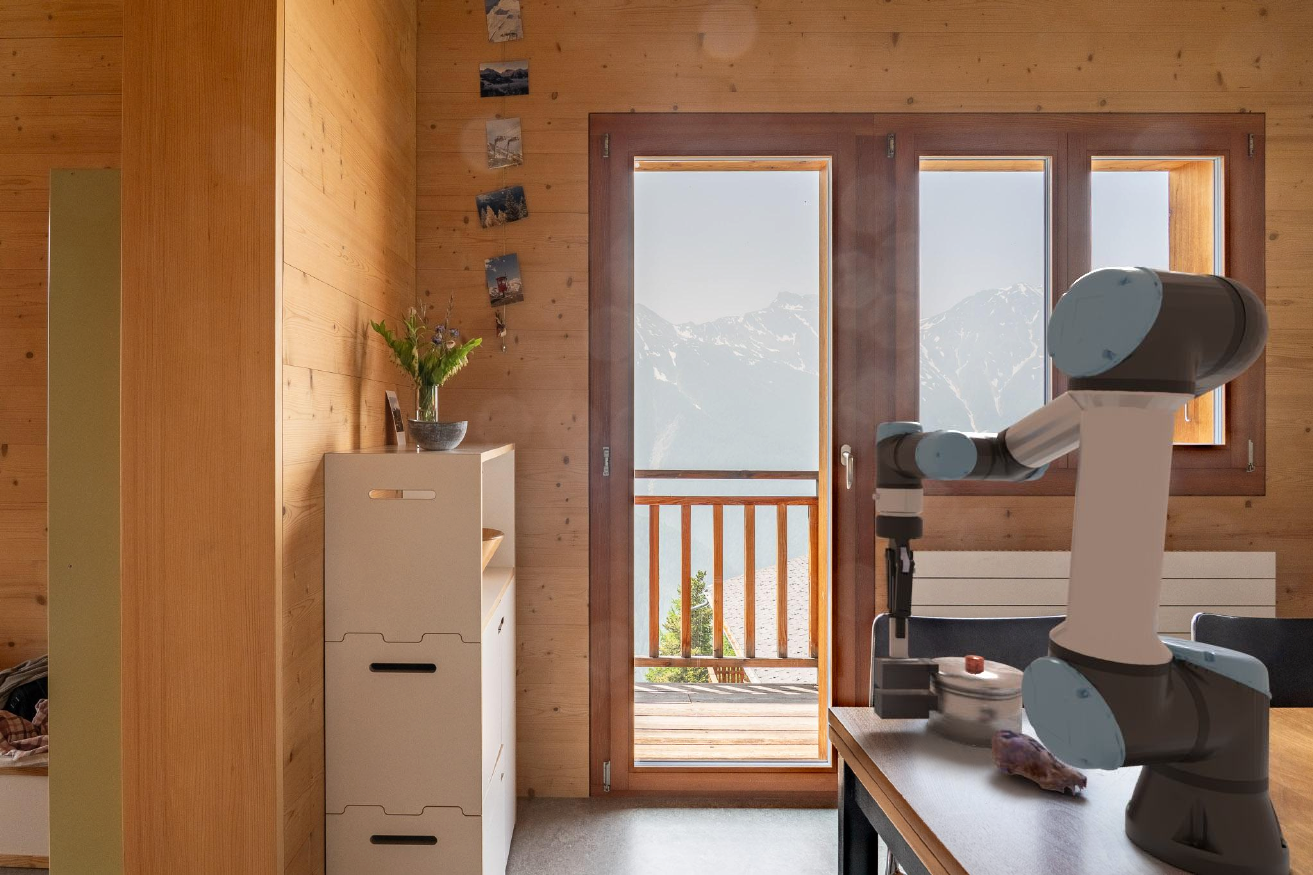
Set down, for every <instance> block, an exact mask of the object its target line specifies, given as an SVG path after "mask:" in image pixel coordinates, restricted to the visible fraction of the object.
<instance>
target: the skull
mask: <svg viewBox="0 0 1313 875" xmlns="http://www.w3.org/2000/svg"><path fill="white" fill-rule="evenodd" d="M991 749H992V750H991V753H990V759H991V760H992V761H993V763H994V764H995V766H996V768H997V769H998V770H999V771H1001V773H1004V774H1005V775H1022V776H1023V777H1025V778H1028V779H1030V780H1032V781H1033V782H1034V783H1037V784H1038V786H1040V787H1041V789H1046V790H1049V791H1058V792H1061V793H1062V794H1064V793H1065V788H1066V787H1068V788H1070V789H1071V792H1072V794H1073V796H1075V793H1076V786H1077V788H1078V789H1079V792H1080V793H1081V792H1082V790H1085V789H1087V783H1088V777H1087V776H1086V775H1084V774H1083V773H1081V772H1079V771H1077V770H1075V769H1073V768H1071V767H1068V766H1067V765H1065V764H1063V763H1062V762H1060V760H1059V759H1058V758H1056V757H1055V756H1054V755H1053V754H1052V753H1051V752H1050V751H1049V750H1048V749H1047V748H1046V747H1045V746H1044V745H1043V744H1042V743H1041V742H1039V741H1038V740H1037V739H1035V738H1033V737H1032V736H1030V735H1027V734H1025V733H1022V734H1021V733H1017V732H1014V731H1012V730H1009V729H1001V730H998V731H997V732H996V734H995V735H994V737H993V739H992V748H991Z"/></svg>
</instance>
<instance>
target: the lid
mask: <svg viewBox="0 0 1313 875" xmlns="http://www.w3.org/2000/svg"><path fill="white" fill-rule="evenodd" d="M873 670H874V671H873V673H874V674H873V675H874V677H873V680H874V681H873V682H874V684H875V685H877V687H878V688H879V689H882V690H930V680H931V681H933V682H935V683H937V684H940V685H943V686H946V687H949V688H953V689H957V690H962V691H967V692H973V693H982V694H1014V693H1019V692H1022V691H1021V685H1022V677H1023V674H1024V671H1022V670H1020V669H1018V668H1015V667H1013V666H1011V665H1007V664H1004V663H1000V662H996V661H992V660H987V659H985V658H984V657H983V656H980V655H972V654H968V655H965V656H964V657H960V656H959V657H958V656H956V657H955V656H948V657H947V656H946V657H935V658H932V659H931V658H929V657H924V658H923V657H908V658H895V657H874V669H873Z"/></svg>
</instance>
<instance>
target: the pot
mask: <svg viewBox="0 0 1313 875" xmlns="http://www.w3.org/2000/svg"><path fill="white" fill-rule="evenodd" d="M873 695H874V696H873V698H874V700H873V702H874V703H873V704H874V705H873V709H874V710H873V713H875V715H877V717H879V718H880V719H881V720H927V727H928V729H929V730H930V729H931V731H932V732H933V733H934V734H935V735H937V736H939V737H942V738H944V739H945V740H949V741H951V740H952V742H955V743H958V744H961V745H962V744H963V745H966V744H967V745H966V746H971V745H974V746H973V747H977V746H979V748H987V747H992V739H993V737H994V735H995V734H996V732H997V731H998V730H1001V729H1009V730H1012V731H1014V732H1017V733H1021V734H1023V700H1022V692H1019V693H1014V694H982V693H973V692H967V691H962V690H957V689H953V688H949V687H946V686H943V685H940V684H937V683H935V682H933V681H931V680H930V690H882V689H881V688H874V694H873Z"/></svg>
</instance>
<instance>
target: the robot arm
mask: <svg viewBox="0 0 1313 875" xmlns="http://www.w3.org/2000/svg"><path fill="white" fill-rule="evenodd" d="M1053 308H1054V309H1053V311H1052V313H1051V315H1050V318H1049V322H1048V325H1047V329H1046V348H1047V353H1048V356H1049V357H1050V358H1053V360H1052V364H1053V365H1054V367H1055V368H1057V369H1058V370H1059V371H1061V372H1062V373H1064V374H1065V375H1066V376H1068V378H1067V380H1068V381H1067V391H1065V392H1064V393H1062V394H1060V395H1059V396H1057V397H1056V398H1054V399H1053V400H1051V401H1050V402H1047V403H1046V404H1044V405H1043V406H1041V407H1040V408H1038V409H1036V410H1035V411H1033V412H1032V413H1029V414H1028V415H1026V416H1025V417H1024V418H1021V419H1020V420H1018V421H1017V422H1015V423H1014V424H1012V425H1010V426H1009V427H1006V428H1005V429H1003V430H1001V431H1000V432H995V433H992V432H961V431H958V430H951V429H946V430H945V429H938V430H937V429H936V430H935V431H927V432H924V429H923V425H922V424H921V423H919V422H915V421H892V422H891V421H890V422H888V421H886V422H882V423H879V424H878V426H877V427H876V441H875V444H874V448H875V486H876V489H875V490H876V493H873V494H872V495H871V496H872V499H873V500H876V502H875V510H876V512H879V514H877V515H876V516H875V535H876V537H878V538H880V539H881V538H882V539H888V547H885V549H884V555H883V557H884V561H885V577H886V578H885V579H886V580H885V581H886V608H887V610H888V613H886V615H887V618H888V619H889V658H909V618H911V616H912V602H913V601H912V600H913V584H914V580H913V579H914V570H915V565H916V563H915V560H914V550H912V549H911V547H910V546H911V543H910V541H911V540H920V539H922V538H923V536H924V530H923V529H924V526H923V525H924V524H923V523H924V519H923V518H922V516H921V515H920V514H922V513H923V512H924V486H923V485H924V483H923V480H930V481H932V480H933V481H939V482H943V481H946V482H950V481H951V482H952V481H988V482H989V481H991V482H1010V483H1011V482H1013V483H1022V482H1028V481H1029V482H1031V481H1035V480H1038V479H1040V478H1042V477H1043V476H1044V475H1045V472H1046V471H1047V470H1048V469H1049V466H1050V463H1051V462H1052V461H1054V460H1056V459H1059V458H1060V457H1062V456H1064V455H1066V454H1068V453H1071V452H1073V451H1074V450H1076V449H1078V455H1077V468H1076V480H1075V482H1076V483H1075V495H1074V496H1075V497H1074V506H1073V508H1074V510H1073V519H1072V520H1073V523H1072V535H1071V548H1070V560H1069V562H1070V563H1069V574H1068V575H1069V577H1068V589H1067V603H1066V614H1065V615H1066V616H1065V620H1064V621H1062V622H1061V623H1059V624H1058V625H1056V626H1055V627H1053V628H1052V629H1051V630H1050V631H1049V636H1048V649H1047V656H1046V655H1045V656H1042V657H1041V656H1040V657H1038V658H1036V659H1035V660H1033V661H1031V663H1030V665H1028V666H1026V668H1025V670H1024V671H1023V673H1024V674H1023V677H1022V685H1021V691H1022V706H1023V709H1024V711H1025V715H1026V717H1027V720H1028V722H1029V724H1030V726H1031V727H1032V728H1033V730H1034V732H1035V735H1036V736H1037V738H1038V740H1039V741H1040V743H1041V744H1042V746H1043V747H1044V748H1046V749H1047V750H1048V751H1050V752H1051V753H1052V755H1053V756H1054V757H1055V758H1056V759H1057V760H1058V761H1061V763H1062V762H1063V763H1064V764H1066V765H1068V766H1071V767H1073V768H1076V769H1080V770H1102V771H1103V770H1104V771H1108V772H1109V771H1116V770H1118V769H1120V768H1129V767H1131V768H1132V767H1141V766H1142V767H1141V770H1140V773H1139V775H1138V777H1137V781H1136V783H1135V786H1134V789H1133V792H1132V795H1131V797H1130V800H1128V803H1127V804H1126V805H1125V810H1124V829H1125V830H1124V831H1125V832H1126V834H1127V836H1128V838H1129V839H1130V840H1131V841H1132V842H1133V843H1135V844H1136V845H1137V846H1138V847H1140V848H1141V849H1142V850H1144V851H1146V852H1147V853H1149V854H1150V855H1152V856H1154V857H1155V858H1158V859H1160V860H1162V861H1163V862H1166V863H1168V864H1171V865H1172V866H1175V867H1177V868H1180V869H1183V870H1186V871H1188V872H1191V873H1194V874H1197V875H1290V874H1291V872H1290V871H1291V869H1290V868H1291V867H1290V866H1291V864H1290V863H1291V861H1290V860H1291V853H1290V848H1289V846H1288V843H1287V841H1286V839H1285V838H1284V835H1283V830H1282V827H1281V823H1280V822H1279V819H1278V815H1277V813H1276V810H1275V808H1274V805H1273V802H1272V799H1271V797H1270V707H1271V706H1270V704H1271V702H1270V701H1271V700H1272V698H1273V696H1272V693H1271V692H1270V683H1269V682H1270V680H1269V672H1268V668H1267V667H1266V665H1265V664H1264V663H1263V662H1262V661H1261V660H1260V659H1258V658H1256V656H1255V657H1254V656H1252V655H1250V654H1247V653H1244V652H1241V651H1237V650H1235V649H1230V648H1226V647H1221V646H1217V645H1212V644H1209V643H1203V642H1199V641H1194V640H1189V639H1183V638H1178V637H1171V636H1166V635H1165V636H1164V635H1163V636H1162V635H1158V628H1159V627H1158V626H1159V614H1160V603H1161V602H1160V601H1161V589H1162V578H1163V566H1164V556H1165V555H1164V552H1165V544H1166V542H1165V541H1166V529H1167V521H1168V520H1167V517H1168V506H1169V496H1170V495H1169V493H1170V483H1171V482H1170V480H1171V470H1172V469H1171V468H1172V458H1173V448H1174V446H1173V445H1174V436H1175V435H1174V433H1175V420H1176V414H1177V413H1178V411H1179V410H1180V409H1181V408H1182V407H1184V406H1185V405H1187V404H1188V403H1190V402H1191V401H1193V400H1194V399H1198V398H1199V397H1201V396H1203V395H1206V394H1207V393H1210V392H1212V391H1214V390H1216V389H1218V388H1220V387H1221V386H1223V385H1225V384H1228V383H1229V382H1231V381H1232V380H1234V379H1236V378H1237V377H1239V376H1240V375H1242V374H1243V373H1244V372H1246V370H1247V369H1249V368H1250V367H1251V366H1252V365H1254V363H1255V362H1256V361H1257V359H1259V357H1260V355H1261V354H1262V352H1263V350H1264V348H1265V346H1266V344H1267V341H1268V336H1269V331H1270V329H1269V328H1270V326H1269V325H1270V323H1269V315H1268V312H1267V310H1266V307H1265V304H1264V303H1263V301H1261V299H1260V298H1259V296H1258V295H1257V294H1256V293H1255V292H1254V291H1253V290H1252V289H1251V288H1250V287H1248V286H1247V285H1245V284H1243V283H1242V282H1240V281H1237V280H1236V279H1233V278H1231V277H1226V276H1222V275H1216V274H1208V273H1207V274H1205V273H1203V274H1200V273H1191V272H1184V271H1183V272H1182V271H1176V270H1175V271H1173V270H1167V269H1166V270H1165V269H1156V268H1150V267H1145V266H1132V267H1131V266H1128V267H1127V266H1125V267H1124V266H1122V267H1118V266H1116V267H1110V266H1109V267H1103V268H1098V269H1095V270H1093V271H1090V272H1089V273H1086V274H1084V275H1083V276H1081V277H1080V278H1078V279H1077V280H1075V282H1074V283H1071V285H1070V287H1069V288H1068V290H1067V292H1066V293H1064V294H1062V295H1061V297H1060V298H1059V300H1057V303H1056V305H1055V306H1054V307H1053Z"/></svg>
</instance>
